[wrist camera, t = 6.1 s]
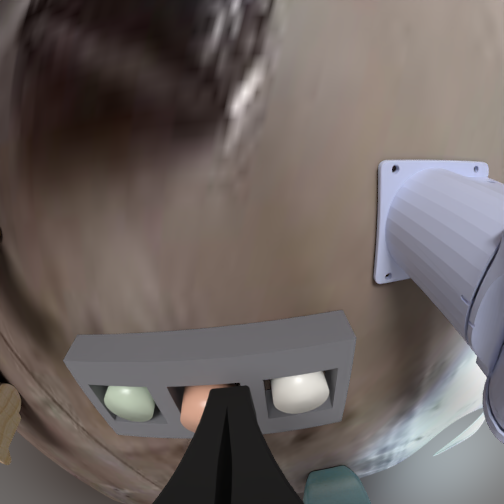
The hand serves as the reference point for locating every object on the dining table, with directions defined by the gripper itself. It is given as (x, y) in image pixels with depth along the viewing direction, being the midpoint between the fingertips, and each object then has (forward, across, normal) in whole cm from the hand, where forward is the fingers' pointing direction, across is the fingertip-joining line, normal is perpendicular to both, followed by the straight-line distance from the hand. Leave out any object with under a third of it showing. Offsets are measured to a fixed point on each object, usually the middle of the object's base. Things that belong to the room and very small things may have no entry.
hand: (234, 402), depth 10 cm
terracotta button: (+8, +3, +8) cm, 12 cm away
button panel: (+9, +3, +8) cm, 13 cm away
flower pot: (+9, -7, +36) cm, 38 cm away
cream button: (+9, -3, +9) cm, 13 cm away
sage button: (+9, +10, +8) cm, 15 cm away
